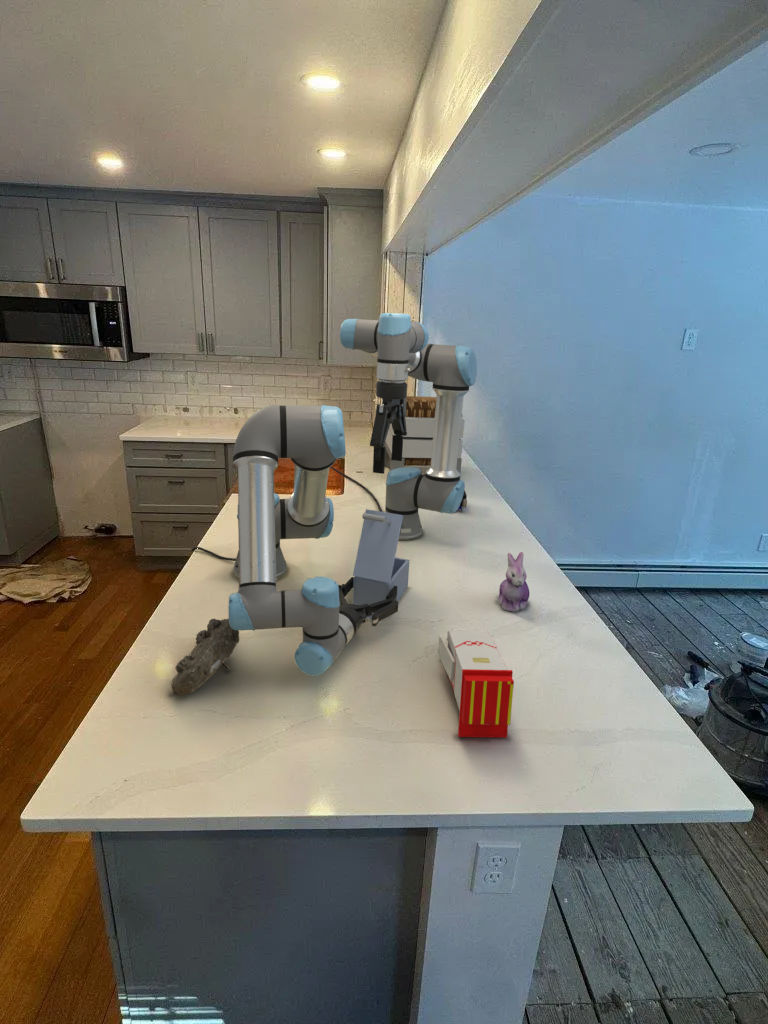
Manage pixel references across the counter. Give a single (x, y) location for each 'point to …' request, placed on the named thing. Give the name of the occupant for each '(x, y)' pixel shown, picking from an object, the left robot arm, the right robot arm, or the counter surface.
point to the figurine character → (463, 502)
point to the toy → (478, 682)
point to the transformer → (418, 434)
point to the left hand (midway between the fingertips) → (374, 586)
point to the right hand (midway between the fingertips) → (387, 466)
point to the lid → (377, 545)
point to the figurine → (514, 585)
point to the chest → (381, 585)
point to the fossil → (205, 656)
